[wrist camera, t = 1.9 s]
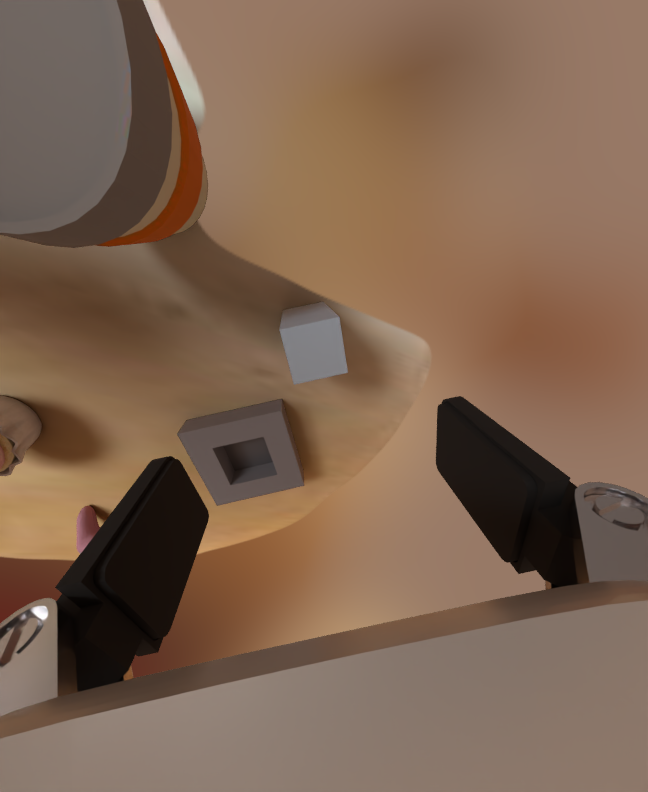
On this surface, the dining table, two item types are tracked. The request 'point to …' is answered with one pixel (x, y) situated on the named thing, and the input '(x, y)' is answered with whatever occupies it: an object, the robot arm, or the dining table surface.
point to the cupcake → (16, 432)
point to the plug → (313, 342)
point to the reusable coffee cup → (93, 127)
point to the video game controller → (86, 527)
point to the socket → (244, 452)
